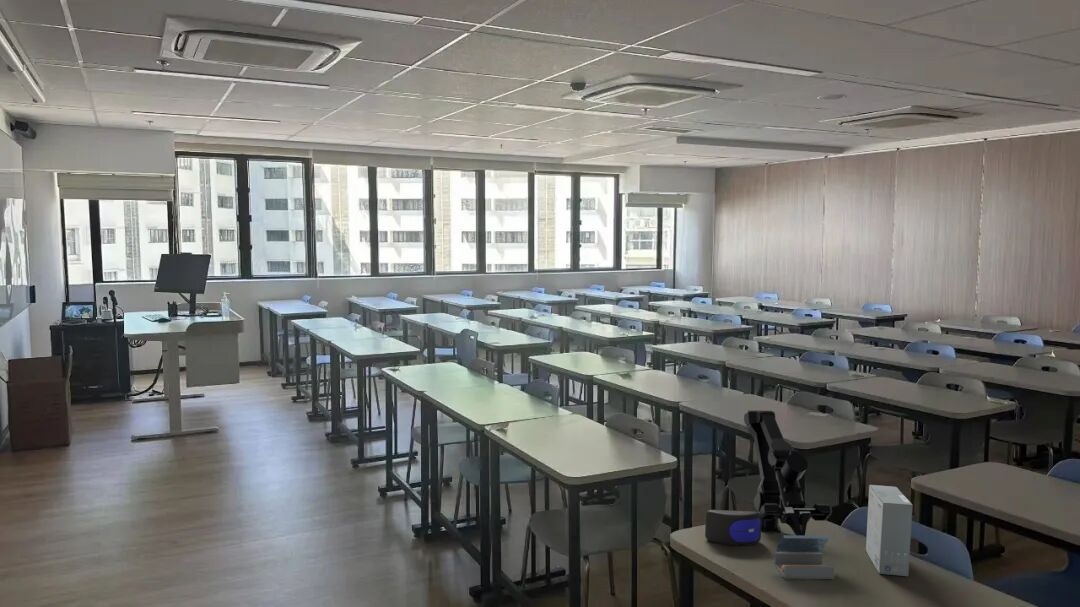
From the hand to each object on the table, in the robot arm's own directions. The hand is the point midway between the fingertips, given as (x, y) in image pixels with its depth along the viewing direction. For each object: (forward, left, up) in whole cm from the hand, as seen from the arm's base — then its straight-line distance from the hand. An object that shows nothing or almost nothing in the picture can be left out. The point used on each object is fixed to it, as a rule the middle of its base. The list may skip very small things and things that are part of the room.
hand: (802, 541), depth 194 cm
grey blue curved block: (-15, -17, -8) cm, 24 cm away
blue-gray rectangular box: (0, 0, -1) cm, 1 cm away
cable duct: (+2, 0, -8) cm, 8 cm away
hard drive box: (-8, +24, -8) cm, 27 cm away
